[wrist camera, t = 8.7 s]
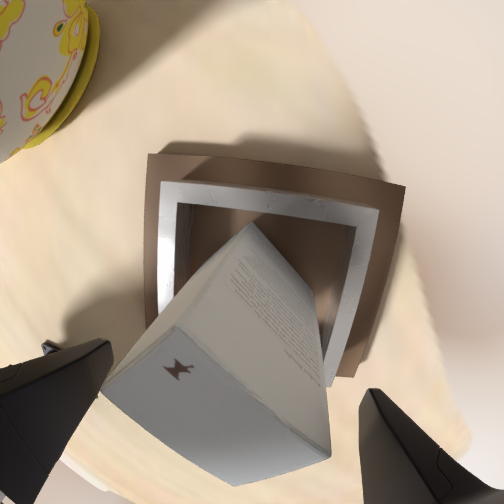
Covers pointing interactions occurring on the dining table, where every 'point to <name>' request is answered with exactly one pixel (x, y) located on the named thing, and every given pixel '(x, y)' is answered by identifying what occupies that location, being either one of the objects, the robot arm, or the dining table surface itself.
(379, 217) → the square wooden tray
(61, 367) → the robot arm
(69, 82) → the flowerpot
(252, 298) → the skincare box
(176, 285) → the light gray square frame
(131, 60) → the dining table surface
